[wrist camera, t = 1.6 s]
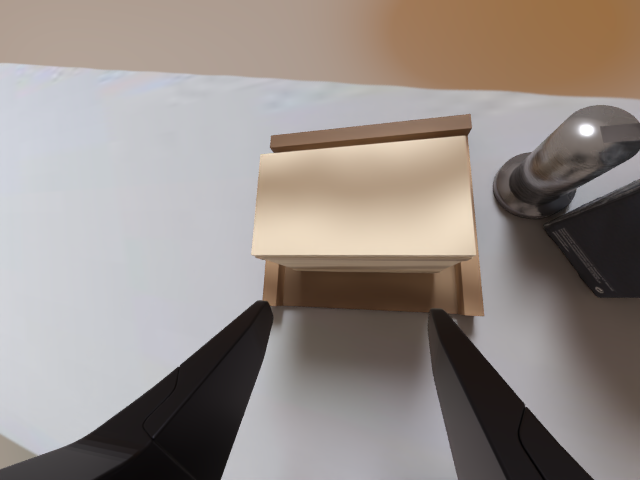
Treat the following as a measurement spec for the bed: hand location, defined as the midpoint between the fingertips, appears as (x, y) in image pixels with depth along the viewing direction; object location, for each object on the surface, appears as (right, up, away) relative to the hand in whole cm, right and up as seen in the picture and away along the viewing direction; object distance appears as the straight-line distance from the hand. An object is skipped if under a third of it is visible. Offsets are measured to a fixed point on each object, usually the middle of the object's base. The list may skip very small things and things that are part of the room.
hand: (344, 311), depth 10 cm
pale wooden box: (+3, +3, +13) cm, 14 cm away
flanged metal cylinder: (+17, +7, +11) cm, 21 cm away
